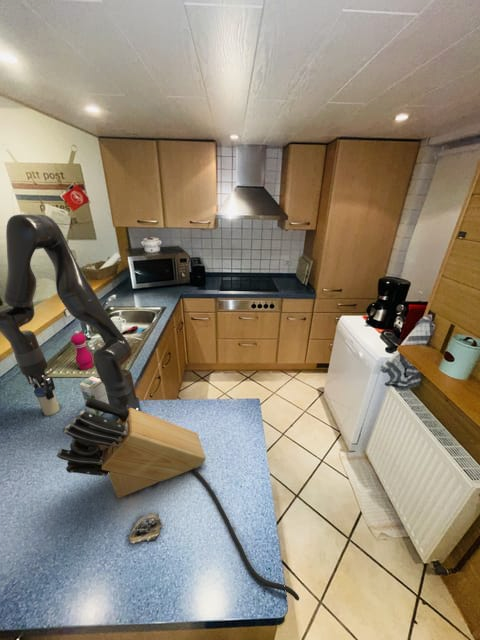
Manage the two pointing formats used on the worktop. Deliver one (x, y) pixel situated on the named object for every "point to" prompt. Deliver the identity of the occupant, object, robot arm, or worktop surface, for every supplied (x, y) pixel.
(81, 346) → the pepper mill
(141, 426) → the knife block
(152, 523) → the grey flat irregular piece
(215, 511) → the worktop surface
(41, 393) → the lid
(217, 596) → the worktop surface
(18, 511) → the worktop surface
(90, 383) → the syrup box
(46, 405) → the jar
